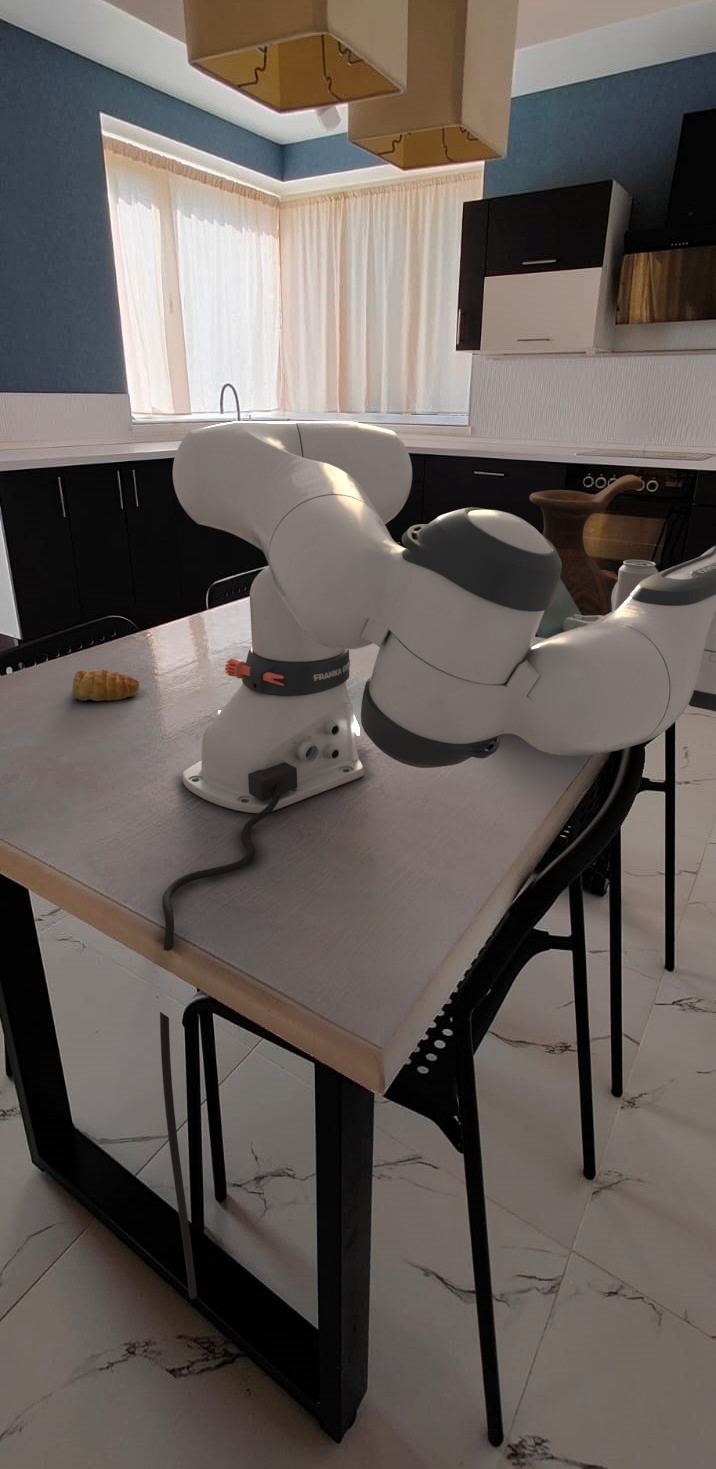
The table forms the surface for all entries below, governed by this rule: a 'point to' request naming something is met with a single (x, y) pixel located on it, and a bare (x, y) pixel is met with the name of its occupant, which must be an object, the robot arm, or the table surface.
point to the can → (631, 578)
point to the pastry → (103, 685)
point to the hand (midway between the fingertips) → (567, 622)
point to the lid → (557, 613)
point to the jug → (580, 542)
